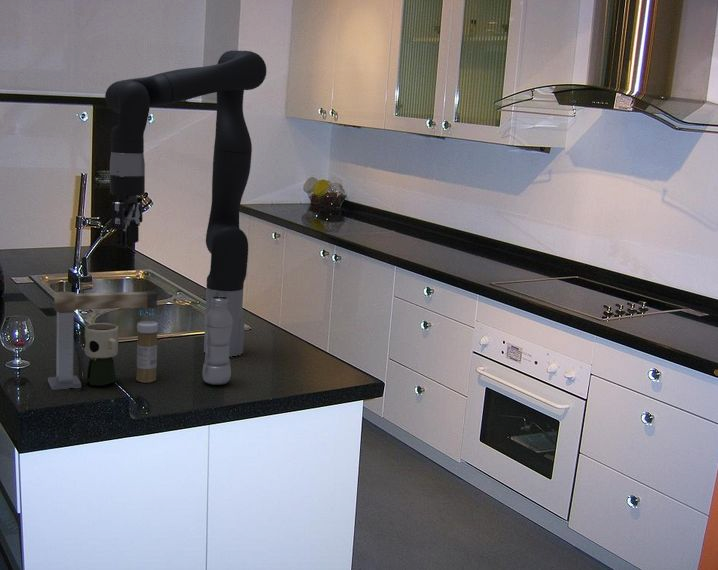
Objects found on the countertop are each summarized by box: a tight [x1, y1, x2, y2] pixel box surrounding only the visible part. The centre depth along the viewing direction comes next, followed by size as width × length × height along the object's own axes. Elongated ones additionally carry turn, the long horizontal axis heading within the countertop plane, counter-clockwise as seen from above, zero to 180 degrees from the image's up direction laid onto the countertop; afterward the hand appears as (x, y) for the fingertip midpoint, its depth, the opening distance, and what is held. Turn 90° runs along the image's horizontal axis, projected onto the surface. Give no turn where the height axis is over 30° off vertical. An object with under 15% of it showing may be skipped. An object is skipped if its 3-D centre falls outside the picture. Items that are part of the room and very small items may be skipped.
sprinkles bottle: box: [135, 320, 159, 384], centre depth 195 cm, size 5×5×13 cm
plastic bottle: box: [202, 296, 233, 386], centre depth 195 cm, size 6×7×20 cm
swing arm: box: [53, 290, 158, 312], centre depth 189 cm, size 22×4×4 cm, turn 117°
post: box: [47, 311, 82, 391], centre depth 187 cm, size 6×6×16 cm
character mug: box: [83, 322, 119, 386], centre depth 190 cm, size 11×7×13 cm, turn 48°
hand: (127, 245), depth 196 cm, fingers open, 8 cm apart
